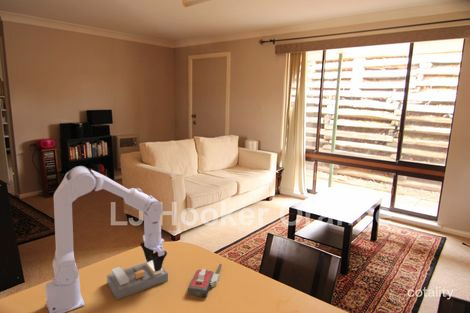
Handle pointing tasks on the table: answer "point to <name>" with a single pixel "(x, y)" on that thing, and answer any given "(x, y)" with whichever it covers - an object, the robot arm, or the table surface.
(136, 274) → the orange rectangular block
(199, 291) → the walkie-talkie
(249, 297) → the table surface
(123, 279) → the grey bar
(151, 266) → the cream bar
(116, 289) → the panel
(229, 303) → the table surface
